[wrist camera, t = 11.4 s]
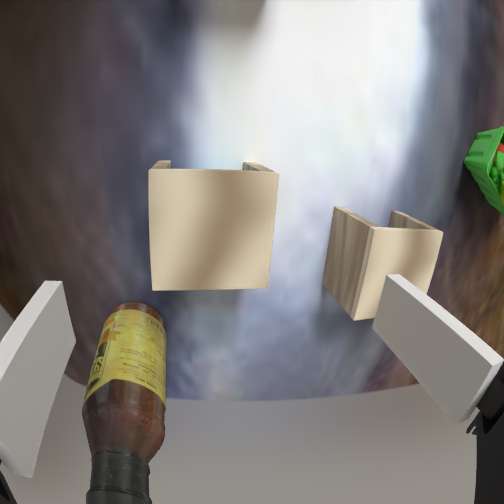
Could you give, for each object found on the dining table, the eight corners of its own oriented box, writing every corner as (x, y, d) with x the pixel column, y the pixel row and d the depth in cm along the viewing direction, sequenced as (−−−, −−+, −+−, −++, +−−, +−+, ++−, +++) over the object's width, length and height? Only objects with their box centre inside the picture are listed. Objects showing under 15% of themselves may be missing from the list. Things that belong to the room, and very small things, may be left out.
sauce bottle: (105, 294, 27) (48, 485, 9) (168, 301, 29) (170, 504, 11) (109, 348, 29) (79, 523, 11) (166, 353, 31) (172, 534, 13)
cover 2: (321, 283, 31) (353, 320, 25) (334, 206, 28) (374, 229, 22) (383, 279, 33) (420, 310, 27) (398, 211, 30) (443, 232, 24)
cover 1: (159, 252, 27) (152, 290, 20) (159, 160, 24) (148, 170, 17) (248, 251, 28) (267, 288, 22) (255, 162, 26) (279, 173, 19)
